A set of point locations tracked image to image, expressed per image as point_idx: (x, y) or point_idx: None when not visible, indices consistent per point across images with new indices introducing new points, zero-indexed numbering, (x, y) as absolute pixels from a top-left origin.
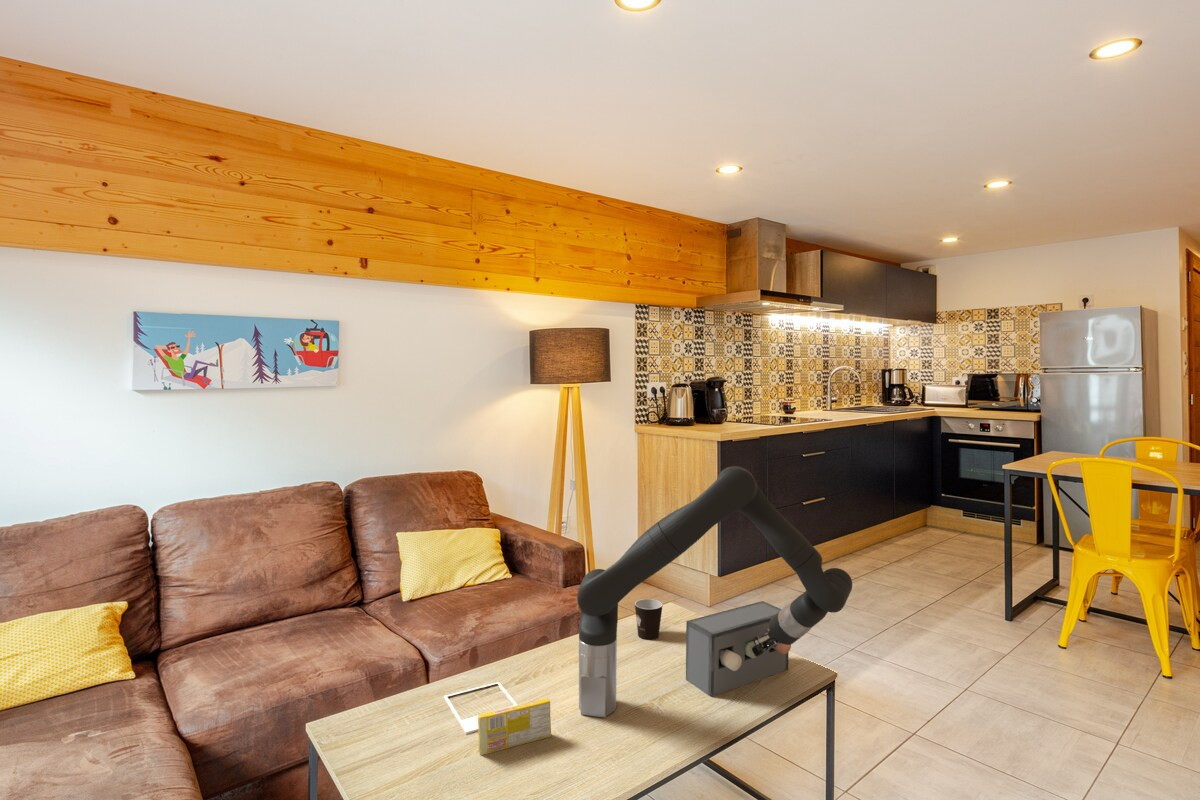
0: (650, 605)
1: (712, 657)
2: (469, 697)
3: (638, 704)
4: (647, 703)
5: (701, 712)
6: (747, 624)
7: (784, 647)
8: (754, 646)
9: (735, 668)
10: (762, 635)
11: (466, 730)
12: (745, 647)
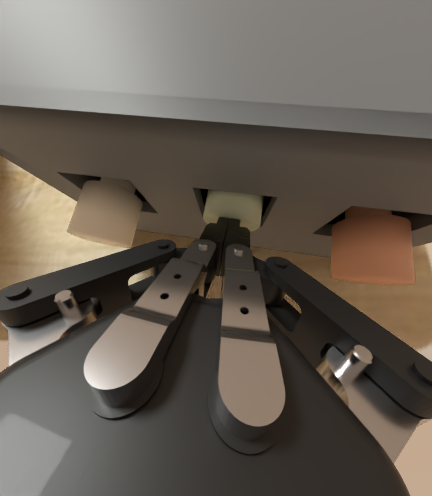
0: None
1: (46, 181)
2: None
3: (16, 169)
4: (28, 175)
5: (60, 253)
6: (194, 118)
7: (358, 278)
8: (216, 223)
9: (112, 244)
10: (161, 274)
11: None
12: (207, 196)
